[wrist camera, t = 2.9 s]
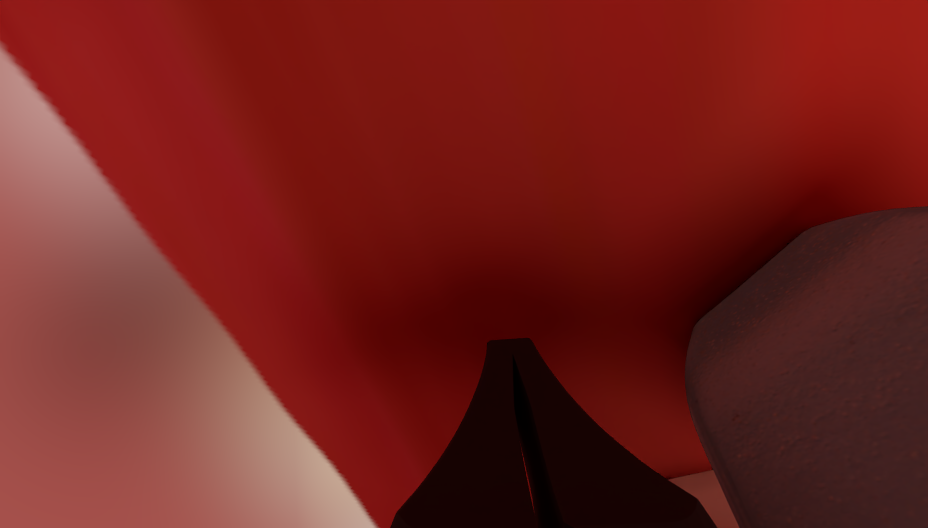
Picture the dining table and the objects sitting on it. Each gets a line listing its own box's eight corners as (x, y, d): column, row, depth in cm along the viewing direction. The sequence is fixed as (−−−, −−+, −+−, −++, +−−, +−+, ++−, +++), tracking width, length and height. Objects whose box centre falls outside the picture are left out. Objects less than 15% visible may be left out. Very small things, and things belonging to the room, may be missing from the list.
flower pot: (833, 129, 12) (1654, 286, 4) (979, 286, 14) (1673, 595, 6) (612, 331, 15) (784, 653, 7) (760, 432, 17) (1019, 760, 9)
